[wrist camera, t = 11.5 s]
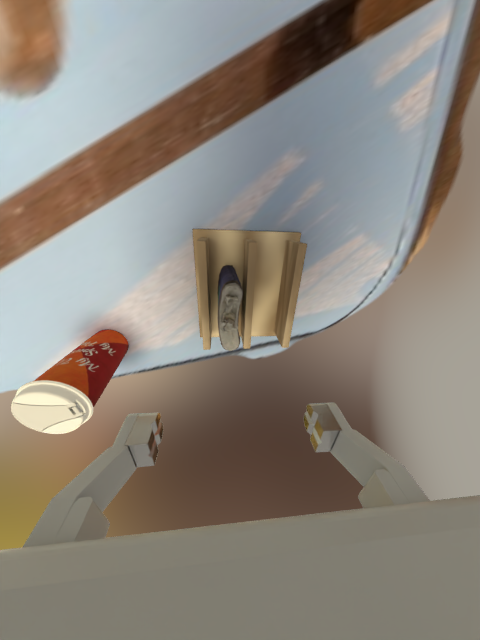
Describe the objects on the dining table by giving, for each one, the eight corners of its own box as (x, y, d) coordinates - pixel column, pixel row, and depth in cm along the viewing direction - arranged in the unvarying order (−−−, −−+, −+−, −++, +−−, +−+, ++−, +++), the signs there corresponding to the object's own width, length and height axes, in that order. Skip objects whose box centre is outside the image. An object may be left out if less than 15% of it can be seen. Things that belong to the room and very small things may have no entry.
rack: (200, 334, 34) (197, 355, 29) (193, 228, 26) (186, 230, 21) (282, 332, 35) (293, 352, 30) (298, 232, 28) (317, 235, 22)
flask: (235, 320, 32) (241, 361, 23) (217, 320, 32) (216, 361, 22) (237, 264, 28) (245, 285, 19) (217, 263, 28) (215, 285, 18)
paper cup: (125, 320, 32) (64, 385, 19) (141, 357, 35) (98, 431, 23) (77, 327, 31) (-16, 396, 19) (98, 363, 35) (31, 441, 23)
